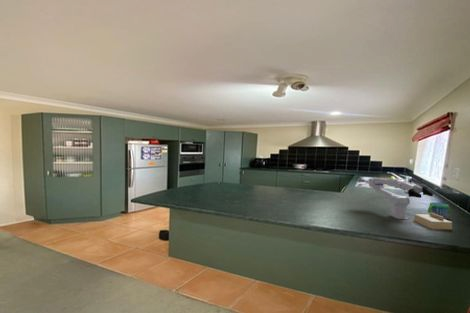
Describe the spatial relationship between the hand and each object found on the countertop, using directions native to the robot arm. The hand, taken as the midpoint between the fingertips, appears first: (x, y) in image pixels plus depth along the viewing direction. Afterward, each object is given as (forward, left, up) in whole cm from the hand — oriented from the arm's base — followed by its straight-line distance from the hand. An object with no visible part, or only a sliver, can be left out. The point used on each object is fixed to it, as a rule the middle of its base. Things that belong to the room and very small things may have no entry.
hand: (426, 195), depth 147 cm
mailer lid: (-6, +9, -17) cm, 20 cm away
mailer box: (-6, +9, -21) cm, 23 cm away
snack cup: (-24, +27, -21) cm, 42 cm away
